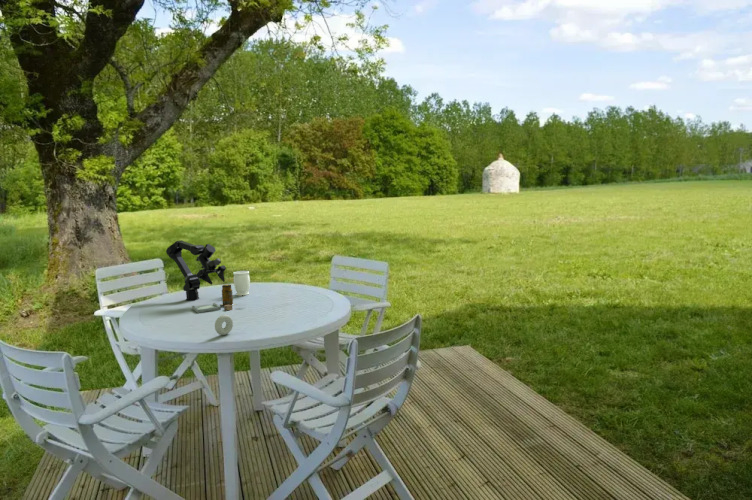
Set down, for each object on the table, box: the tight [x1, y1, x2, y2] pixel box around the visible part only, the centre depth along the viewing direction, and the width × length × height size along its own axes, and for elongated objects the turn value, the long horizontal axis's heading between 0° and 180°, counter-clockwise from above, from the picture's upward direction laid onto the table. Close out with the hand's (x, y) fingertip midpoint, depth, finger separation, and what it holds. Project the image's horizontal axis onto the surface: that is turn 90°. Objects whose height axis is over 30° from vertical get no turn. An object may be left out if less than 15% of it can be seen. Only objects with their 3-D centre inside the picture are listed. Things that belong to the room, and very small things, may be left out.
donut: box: [214, 314, 234, 336], centre depth 269 cm, size 10×4×10 cm, turn 143°
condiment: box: [219, 284, 238, 307], centre depth 334 cm, size 7×8×12 cm
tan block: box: [223, 305, 233, 311], centre depth 322 cm, size 4×3×2 cm
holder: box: [191, 302, 221, 314], centre depth 324 cm, size 13×13×2 cm
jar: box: [232, 270, 251, 297], centre depth 362 cm, size 11×10×15 cm
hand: (218, 282), depth 337 cm, fingers open, 9 cm apart
